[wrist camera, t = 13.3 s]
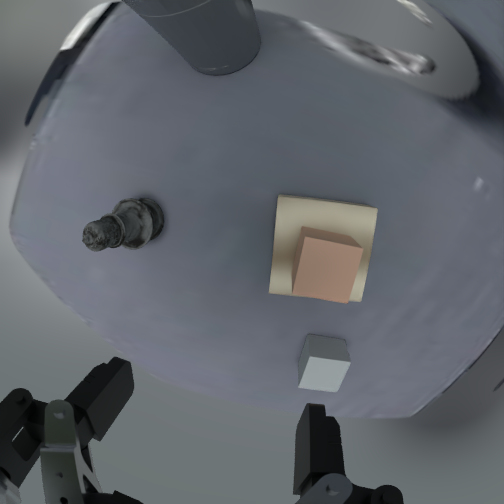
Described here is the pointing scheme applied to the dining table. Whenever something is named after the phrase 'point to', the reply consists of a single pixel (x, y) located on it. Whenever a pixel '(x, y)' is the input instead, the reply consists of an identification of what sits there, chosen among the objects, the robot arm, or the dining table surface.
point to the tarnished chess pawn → (125, 226)
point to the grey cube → (323, 363)
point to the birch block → (323, 218)
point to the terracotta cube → (325, 265)
